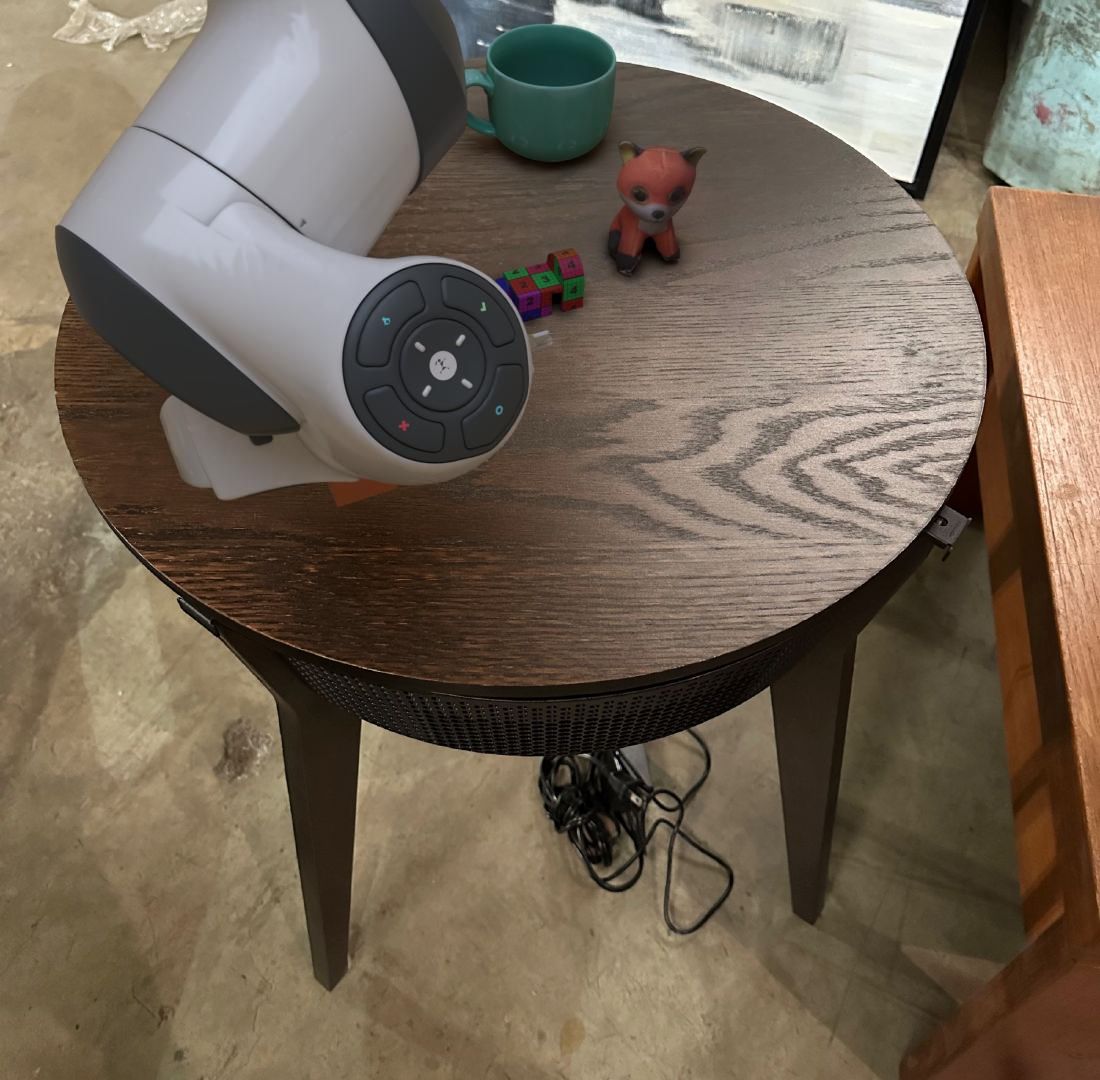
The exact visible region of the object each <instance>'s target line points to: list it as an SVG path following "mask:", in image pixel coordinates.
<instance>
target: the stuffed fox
mask: <svg viewBox="0 0 1100 1080" xmlns="http://www.w3.org/2000/svg"><path fill="white" fill-rule="evenodd" d="M617 147H618V152H619V157H620V159H621V162H622V166H621V169H620V171H619V172H618V175H617V177H616V190H617V193H618V196H619V198H620V199H621V201H622V202H623V203H624V204H623V206H622V207H621V208H620V210H619V211H618V212H617V214H616V215H615V217H614V218H613V220H612V222H611V224H610V227H609V232H608V241H607V248H608V251H609V252H610V254H611V256H612V257H613V258H614V259H615V265H616V266H615V267H616V270H617V271H619V273H622V275H624V276H626V277H632V271H633V270H634V269H635V267H636V266H637V264H638V263H639V262H640V260H641V258H642V250H643V247H644V243H645V241H646V239H648V238H650V239H651V240H652V241H653V243H654V244H656V250H657V252H659V254H660V255H661V256H662V258H663V260H665V261H666V262H670V261H673V260H674V261H678V262H679V261H681V249H680V246H679V242H677V238H676V232H675V227H674V222H673V217H674V216H675V215H676V214H677V213H678V212H679V211H680V210H681V208H682V207H683V206H684V205H685V203H686V202H687V201H688V198H689V197H690V195H691V193H692V190H693V188H694V185H695V182H696V178H697V166H698V164H699V163H700V160H701V159H702V157H703V156H704V155H705V154H706V153H707V152H708V150H709V149H708V148H707V147H703V146H695V147H691V148H689V149H686V150H683V151H680V150H679V149H676V148H673V147H670V146H667V145H657V146H652V147H647V148H641V147H640V146H638V145H637V144H636V143H634V142H632V141H629V140H623V141H619V142H618V143H617Z"/></svg>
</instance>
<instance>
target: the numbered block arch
mask: <svg viewBox="0 0 1100 1080" xmlns="http://www.w3.org/2000/svg"><path fill="white" fill-rule="evenodd" d="M584 269H585V268H584V266H583V262H582V260H581V257H580V255H579V253H578V251H577V250H576V249H575V248H573V247H571V248H567V249H563V250H558V251H554V252H550V253H548V255H547V257H546V262H542V263H538V264H534V265H529V266H526V267H522V268H521V267H520V268H517V269H513V270H509V271H504V272H502V277H499V278H497V279H492V280H493V281H495V282H496V283H497V284H498V285H499V286H500V287H501V288H502V289H503V290H504V291H505V292H506V294H507V295H508V296H509V298H510V299H511V300H512V302H513V304H514V305H515V307H516V308H517V310H518V312H519V314H520V316H521V318H522V321H523V323H524V322H529V321H531V320H535V319H539V318H543V317H547V316H550V315H552V304H553V303H552V300H553V295H554V294H555V295H556V294H559V293H560V311H561V312H565V311H570V310H574V309H578V308H583V307H584V299H585V297H584V295H585V281H586V280H585V271H584Z"/></svg>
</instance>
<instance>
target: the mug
mask: <svg viewBox="0 0 1100 1080" xmlns="http://www.w3.org/2000/svg"><path fill="white" fill-rule="evenodd" d="M485 57H486V58H485V70H486V71H485V72H483V71H482V70H479V69H474V68H468V69H465V77H466V88H467V89H469V88H471V87H479V88H482V89H483V92H484V94H485V95H486V101H487V113H488V119H489V120H487V119H484V118H482V117H479V116H477V115H476V114H474V113H472V112H471V111H469V109H467V115H468V117H467V125H466V127H468V128H470V129H471V130H472V131H474V132H476V133H478V134H481V135H484V136H486V137H491V138H497V139H498V140H499V142H501V143H502V144H503V145H504V146H505V147H506V148H508V149H509V150H510V151H512V152H514V153H516V154H517V155H518V156H521V157H525V158H528V159H530V160H533V161H537V162H542V163H558V162H564V161H568V160H569V161H570V160H572V159H575V158H578V157H581V156H584V155H585V154H587V153H589V152H590V151H592V150H593V149H594V148H595V147H597V146H598V145H599V143H601V141H602V140H603V139H604V137H605V135H606V133H607V131H608V128H609V125H610V123H611V119H612V114H613V107H614V98H615V87H616V75H617V55H616V52H615V50H614V48H613V47H612V46H611V45H610V43H609V42H607V40H605V39H604V38H602V37H601V36H600V35H598V34H595V33H593V32H592V31H589V30H586V29H583V28H580V27H577V26H572V25H566V24H558V23H536V24H535V23H534V24H528V25H523V26H522V25H521V26H518V27H515V28H512V29H510V30H507V31H505V32H503V33H501V34H500V35H498V36H497V37H495V39H493V40H492V41H491V43H490V44H489V45H488V47H487V50H486V56H485Z"/></svg>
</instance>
